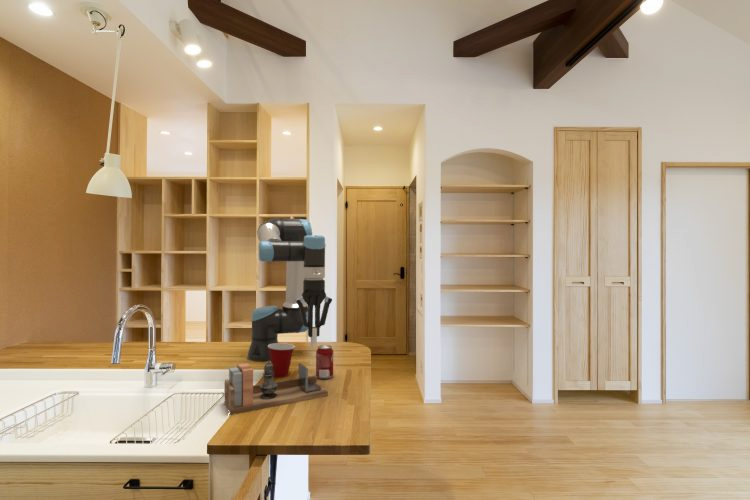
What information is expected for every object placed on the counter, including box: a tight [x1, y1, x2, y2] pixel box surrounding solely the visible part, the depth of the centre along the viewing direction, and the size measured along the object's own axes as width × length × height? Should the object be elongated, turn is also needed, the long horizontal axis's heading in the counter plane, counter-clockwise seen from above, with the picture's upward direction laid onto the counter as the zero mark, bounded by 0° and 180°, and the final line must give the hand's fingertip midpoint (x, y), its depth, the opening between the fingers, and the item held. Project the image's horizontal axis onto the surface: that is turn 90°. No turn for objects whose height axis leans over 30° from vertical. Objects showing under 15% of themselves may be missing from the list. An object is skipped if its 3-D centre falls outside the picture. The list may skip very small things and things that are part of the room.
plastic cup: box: [268, 342, 296, 378], centre depth 159 cm, size 11×11×12 cm
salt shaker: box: [259, 361, 278, 399], centre depth 132 cm, size 6×6×12 cm
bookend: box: [297, 363, 321, 392], centre depth 140 cm, size 7×6×8 cm
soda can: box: [315, 344, 334, 380], centre depth 157 cm, size 7×7×12 cm
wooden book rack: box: [223, 361, 329, 415], centre depth 134 cm, size 11×32×12 cm, turn 121°
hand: (313, 345), depth 140 cm, fingers closed
